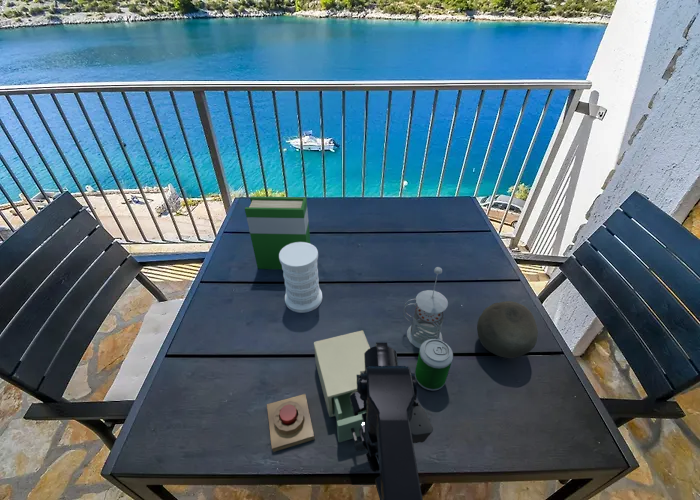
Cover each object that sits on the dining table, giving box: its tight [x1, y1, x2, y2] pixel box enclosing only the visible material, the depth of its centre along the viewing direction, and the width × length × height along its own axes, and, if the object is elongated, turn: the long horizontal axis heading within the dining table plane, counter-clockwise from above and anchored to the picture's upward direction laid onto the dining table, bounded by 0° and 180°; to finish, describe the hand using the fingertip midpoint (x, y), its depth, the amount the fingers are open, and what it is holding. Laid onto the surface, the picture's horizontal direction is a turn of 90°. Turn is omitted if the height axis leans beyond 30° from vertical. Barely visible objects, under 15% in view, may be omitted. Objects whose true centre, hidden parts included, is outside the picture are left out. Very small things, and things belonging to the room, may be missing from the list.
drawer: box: [332, 391, 367, 453], centre depth 76 cm, size 18×11×7 cm, turn 17°
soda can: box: [414, 339, 454, 392], centre depth 83 cm, size 8×8×12 cm
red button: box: [280, 405, 297, 425], centre depth 76 cm, size 4×4×2 cm
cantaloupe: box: [476, 300, 539, 359], centre depth 89 cm, size 14×14×15 cm
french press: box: [402, 266, 449, 349], centre depth 90 cm, size 10×12×25 cm
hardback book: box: [244, 196, 312, 270], centre depth 114 cm, size 18×7×24 cm, turn 88°
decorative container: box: [279, 242, 323, 313], centre depth 103 cm, size 12×12×18 cm
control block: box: [266, 393, 316, 453], centre depth 77 cm, size 10×9×4 cm
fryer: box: [313, 330, 371, 418], centre depth 83 cm, size 15×13×9 cm
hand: (378, 460), depth 65 cm, fingers closed
